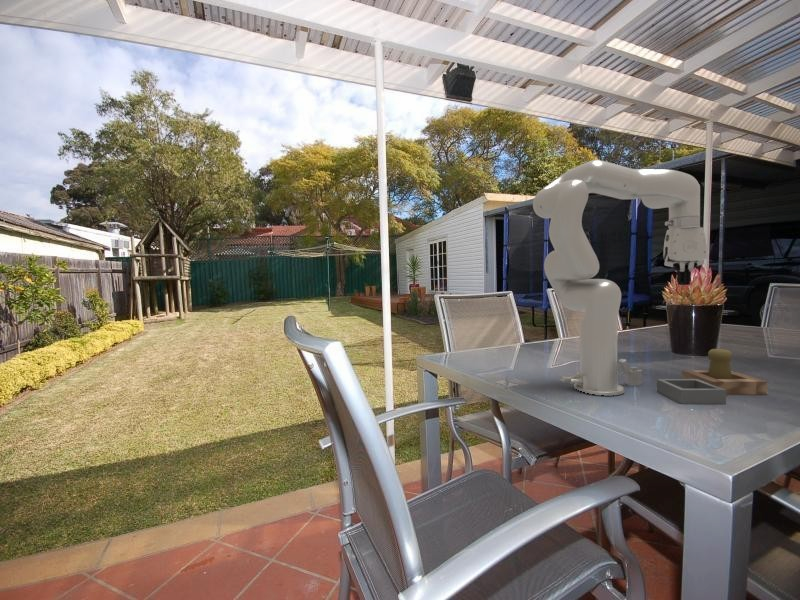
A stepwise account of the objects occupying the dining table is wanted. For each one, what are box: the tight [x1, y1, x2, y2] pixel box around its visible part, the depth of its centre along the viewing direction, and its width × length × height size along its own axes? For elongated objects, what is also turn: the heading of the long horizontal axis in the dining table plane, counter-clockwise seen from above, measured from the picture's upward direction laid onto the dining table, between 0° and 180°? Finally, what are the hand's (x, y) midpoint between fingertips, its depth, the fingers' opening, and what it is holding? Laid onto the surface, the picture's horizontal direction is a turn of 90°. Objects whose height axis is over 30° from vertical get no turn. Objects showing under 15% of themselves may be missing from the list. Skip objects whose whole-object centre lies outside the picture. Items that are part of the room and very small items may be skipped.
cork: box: [707, 348, 733, 379], centre depth 106 cm, size 6×6×11 cm
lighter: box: [617, 358, 643, 387], centre depth 111 cm, size 7×2×8 cm, turn 103°
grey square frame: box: [656, 378, 727, 405], centre depth 99 cm, size 10×10×4 cm
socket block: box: [681, 369, 768, 396], centre depth 106 cm, size 13×13×4 cm
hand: (683, 284), depth 115 cm, fingers closed
